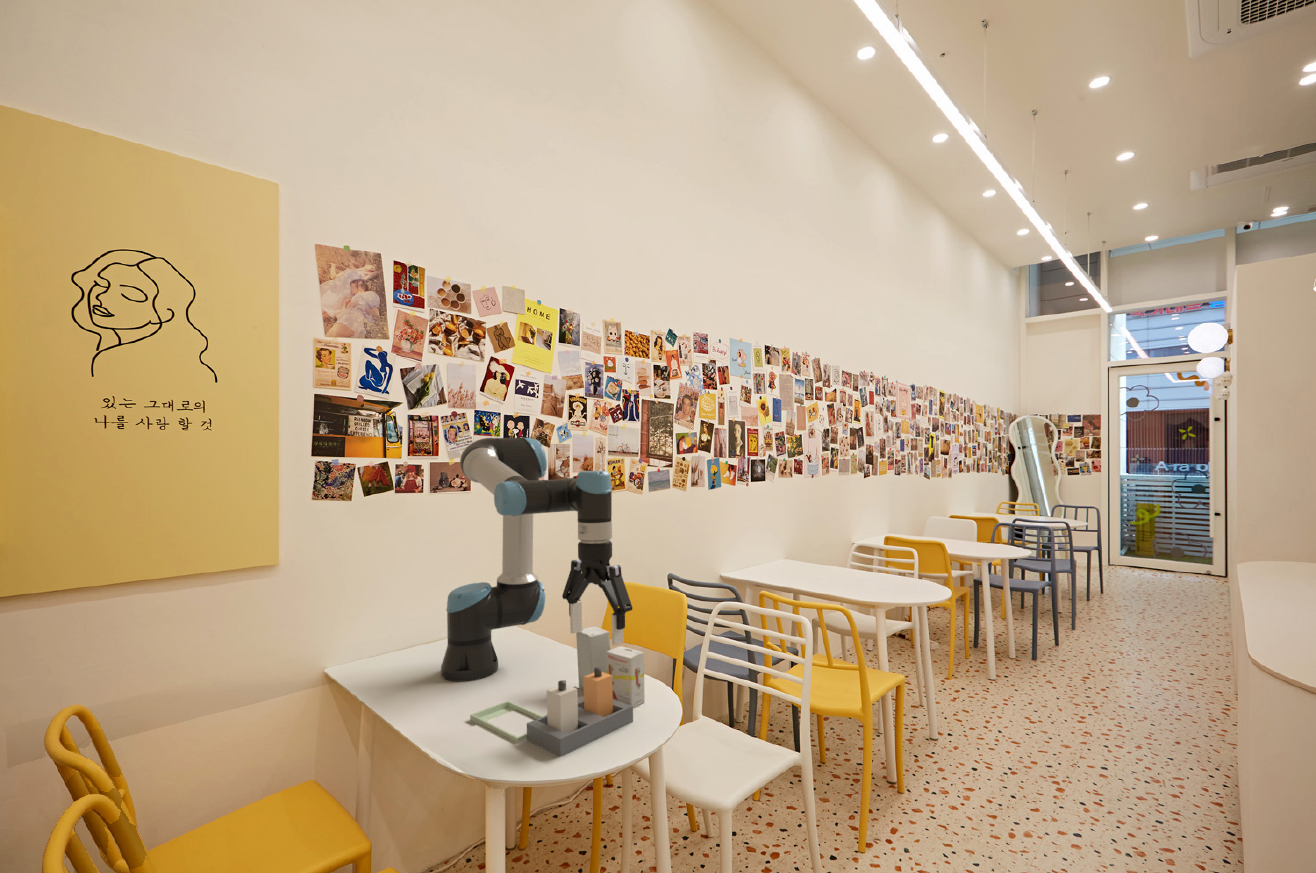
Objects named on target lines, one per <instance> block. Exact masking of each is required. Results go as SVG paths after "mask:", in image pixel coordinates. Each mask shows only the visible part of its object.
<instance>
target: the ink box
mask: <svg viewBox="0 0 1316 873" xmlns="http://www.w3.org/2000/svg"><path fill="white" fill-rule="evenodd" d="M606 673H607V674H610V675H612V688H613V699H615V700H617V701H620V702H623V703H626V704H628V705H631V706H633V708H635V707H637V706H639V705H642V704H643V703H645V695H646V694H645V655H644V653H643V652H642V651H640V650H638V649H637V650H636V649H633V648H629V647H626V646H622V645H620V646H619V645H618V646H617V647H616V646H615V647H614V648H612V649H610V650H609V651H606Z"/></svg>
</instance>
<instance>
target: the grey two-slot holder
mask: <svg viewBox="0 0 1316 873" xmlns="http://www.w3.org/2000/svg"><path fill="white" fill-rule="evenodd" d="M542 716H543V717H541V718H539V719H537V718H535V719H534V720H532V721H529V722H526V733H527V739H526V740H527V741H529V743H532V744H534V745H536V746H538V747H540V748H542V749H544V750H545V751H548V752H550V753H551V754H552V753H553V754H554V755H556V756H558V757H560V758H562V757H563V756H565V755H568V754H570V753H572V752H574V751H576V750H578V749H580V748H582V747H584V746H586V745H588V744H590V743H593V742H594V741H597V740H599V739H601V738H603V737H605V736H607V735H609V734H611V733H613V732H615V731H617V730H619V729H621V728H624V727H625V726H628V725H630V724H632V723H633V722H634V707H633V706H631V705H628V704H626V703H623V702H620V701H617V700H615V699H613V714H611V715H608V716H606V717H602V716H600V715H597V714H595V713H593V712H590V711H588V710H585V709H584V699H583V700H580V701H578V729H577V730H575V731H573V732H571V733H569V734H565V733H563V732H561V731H559V730H557V729H554V728H552V727H550V726H548V721H547V714H546V715H542Z"/></svg>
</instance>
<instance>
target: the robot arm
mask: <svg viewBox="0 0 1316 873" xmlns="http://www.w3.org/2000/svg"><path fill="white" fill-rule="evenodd" d="M547 462H548V461H547V455H546V452H545V449H544V447H543V445H542V443H541V442H540V440H538V439H536V438H531V437H530V438H529V437H486V438H481V439H478V440H475V441H473V442H471V443H470V444H469V445H468V446H466V447H465V449H464V450H463V452H462V454H461V455H460V460H459V466H460V469H461V472H462V474H463V475H464V476H465V477H466V478H467V479H468V480H470V481H471V482H474V483H478V484H481V485H482V486H483V487H484V488H485V489H486V490H487V491H489V493H491V494H492V495H493V501H494V503H493V504H494V507H495V509H496V512H497V514H499V515H501V516H502V559H501V560H502V562H501V563H502V566H501V567H502V572H501V573H500V574H499V575H498V576H497V578H496V586H491V584H490V583H489V582H473V583H469V584H464V585H461V586H458V587H456V588H455V589H453V590H451V592H450V593H449V594H448V596H447V603H446V614H447V615H446V620H447V622H446V626H447V633H446V634H447V646H446V649H445V653H444V656H443V658H442V663H441V666H440V676H441V678H443V679H445V680H447V681H452V682H453V681H455V682H465V681H467V682H468V681H474V680H480V679H482V678H486V677H489V676H491V675H493V674H495V673H496V672H497V671H498V669H499V659H498V656H497V652H496V651H495V647H494V644H493V642H492V630H497V629H503V628H508V627H509V628H510V627H515V626H523V625H524V626H525V625H527V624H530V623H534V622H537V621H538V620H539V619H540V618H541V616H542V615H543V612H544V610H545V604H546V592H545V587H544V584H543V583H542V582H541V581H540V580H539V578H538V575H536V573H535V572H534V570H533V569H534V568H533V566H534V565H533V564H534V563H533V562H534V560H533V558H534V557H533V555H534V515H536V514H547V513H548V514H550V513H564V512H577V540H578V541H579V542H578V543H577V557H578V558H577V559H573V560H572V559H571V562H570V571H569V573H568V578H567V581H566V582H565V586H564V589H563V592H562V597H561V598H562V600H566V601H567V603H568V612H569V613H568V615H569V619H570V621H569V622H570V624H569V625H570V628H569V629H570V634H572V635H573V634H576V633H577V632H580V631H582V629H583V625H582V624H583V620H582V616H583V614H582V608H583V606H582V599H581V598H582V596H583V594H584V592H585V591H586V589H587V587H588V586H589V585H590V584H593V585H597V586H598V587H599V588H600V589H601V590H602V591H603V593H604V595H605V597H606V599H607V602H608V603H609V605H610V607H611V609H612V610H613V613H611V646H613V647H614V646H615V647H616V646H619V645H621V644H624V642H625V641H624V636H625V635H624V629H625V628H626V613H627V612H630V611H633V605H632V602H631V599H630V596H629V593H628V590H627V587H626V585H625V582H624V579H623V576H622V567H621V565H620V564H617V565H612V566H611V563H610V560H611V558H612V557H613V542H612V541H611V540H612V538H613V525H612V524H613V523H612V517H613V516H612V513H613V510H612V506H613V505H612V502H613V500H612V492H613V486H612V479H611V473H610V472H609V471H607V470H585V471H584V470H583V471H579V472H578V473H577V476H576V478H575V477H565V478H562V479H559V478H557V479H541V478H543V477H545V475H546V473H547V472H546V471H547V469H548V468H547V467H548V464H547Z"/></svg>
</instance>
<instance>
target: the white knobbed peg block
mask: <svg viewBox="0 0 1316 873" xmlns="http://www.w3.org/2000/svg"><path fill="white" fill-rule="evenodd" d="M557 682H558V683H557V686H554V687H552V688H550V689H547V690H546V700H547V701H546V704H547V706H546V707H547V708H546V709H547V712H546V715H547V721H548V726H550V727H552V728H554V729H557V730H559V731H561V732H563V733H565V734H569V733H571V732H573V731H575V730H577V729H578V702H579V701H578V698H579V697H578V688H576V687H573V686H570V685H568V684H567V681H566V680H564V679H563V680H558V681H557Z"/></svg>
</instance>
